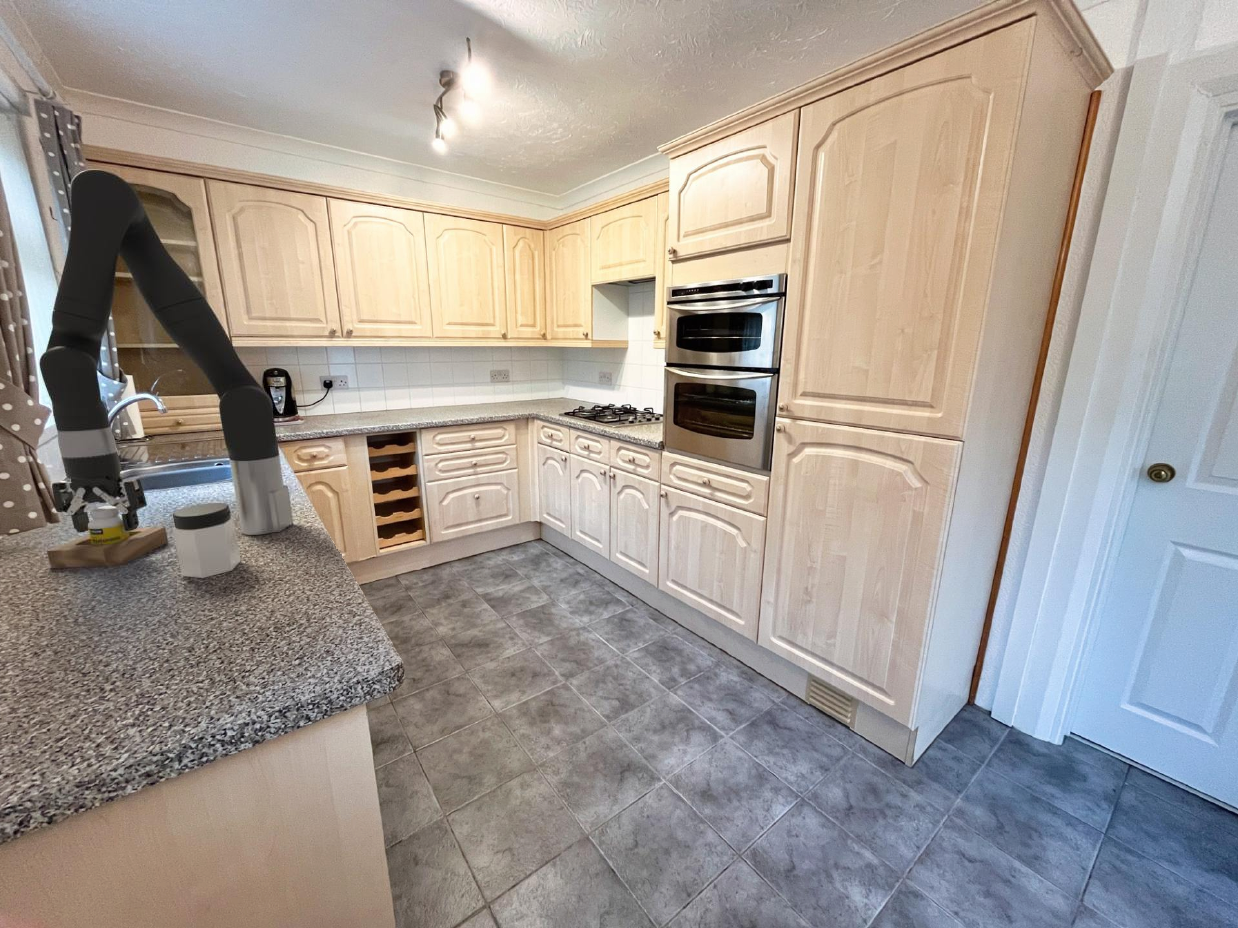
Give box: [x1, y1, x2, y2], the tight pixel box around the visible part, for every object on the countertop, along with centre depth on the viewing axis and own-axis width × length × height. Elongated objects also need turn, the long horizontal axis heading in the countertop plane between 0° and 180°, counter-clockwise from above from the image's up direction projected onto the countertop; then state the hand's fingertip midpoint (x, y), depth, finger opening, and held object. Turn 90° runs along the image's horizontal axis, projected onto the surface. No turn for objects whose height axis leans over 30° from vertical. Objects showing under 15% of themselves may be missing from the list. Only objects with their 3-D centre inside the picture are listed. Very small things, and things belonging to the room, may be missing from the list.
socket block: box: [46, 526, 169, 569], centre depth 100 cm, size 12×12×4 cm
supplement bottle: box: [88, 505, 129, 545], centre depth 100 cm, size 5×5×10 cm
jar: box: [172, 502, 241, 579], centre depth 94 cm, size 9×8×12 cm
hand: (108, 530), depth 100 cm, fingers open, 8 cm apart
